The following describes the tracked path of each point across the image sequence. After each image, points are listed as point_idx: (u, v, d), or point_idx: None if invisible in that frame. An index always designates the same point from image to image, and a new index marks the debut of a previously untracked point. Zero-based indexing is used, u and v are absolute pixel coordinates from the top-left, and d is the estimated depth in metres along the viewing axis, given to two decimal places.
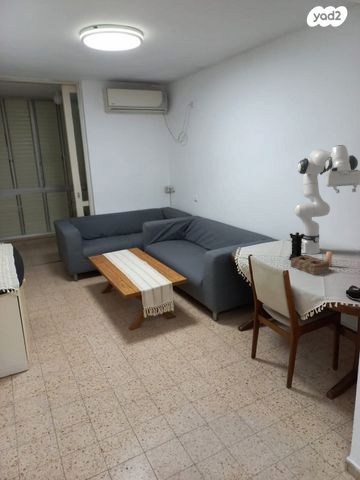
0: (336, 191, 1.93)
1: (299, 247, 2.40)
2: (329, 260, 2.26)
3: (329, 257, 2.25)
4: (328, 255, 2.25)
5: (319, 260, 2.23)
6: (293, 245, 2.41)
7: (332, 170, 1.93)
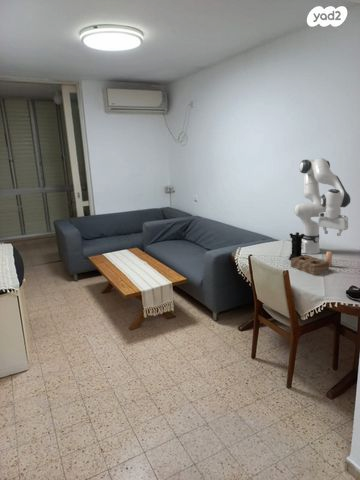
0: None
1: (299, 247, 2.40)
2: (329, 260, 2.26)
3: (329, 257, 2.25)
4: (328, 255, 2.25)
5: (319, 260, 2.23)
6: (293, 245, 2.41)
7: (320, 215, 2.22)
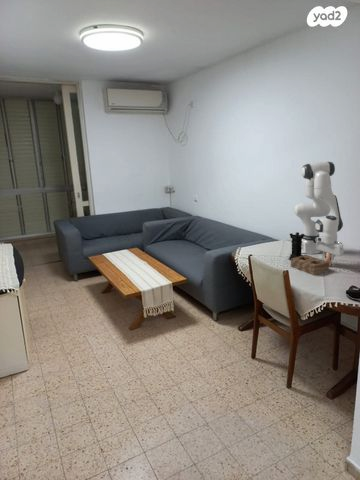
0: None
1: (299, 247, 2.40)
2: (329, 260, 2.26)
3: (329, 257, 2.25)
4: (328, 255, 2.25)
5: (319, 260, 2.23)
6: (293, 245, 2.41)
7: (318, 239, 2.29)
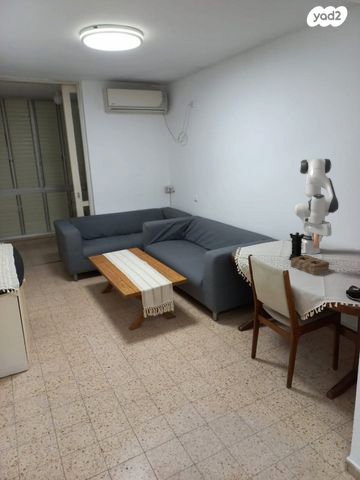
0: None
1: (299, 247, 2.40)
2: (317, 241, 2.15)
3: (317, 238, 2.14)
4: (316, 236, 2.14)
5: (319, 260, 2.23)
6: (293, 245, 2.41)
7: (305, 220, 2.18)
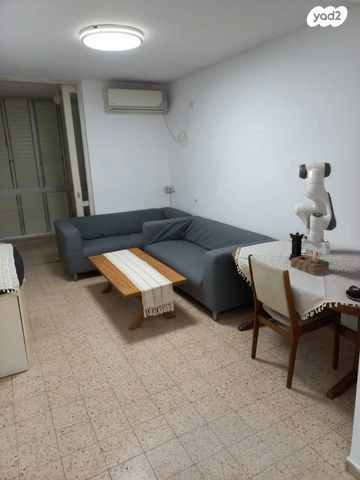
0: None
1: (299, 247, 2.40)
2: (316, 259, 2.18)
3: (316, 256, 2.18)
4: (315, 254, 2.17)
5: (319, 260, 2.23)
6: (293, 245, 2.41)
7: (304, 237, 2.21)
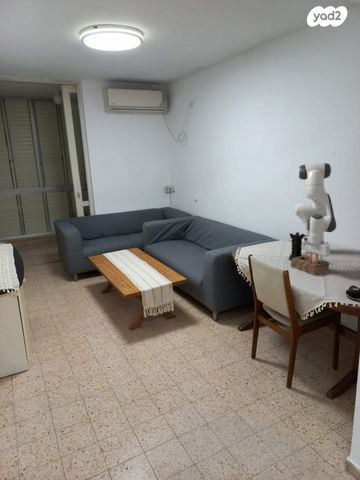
0: None
1: (299, 247, 2.40)
2: (315, 262, 2.19)
3: (315, 259, 2.18)
4: (314, 257, 2.18)
5: None
6: (293, 245, 2.41)
7: (304, 239, 2.22)
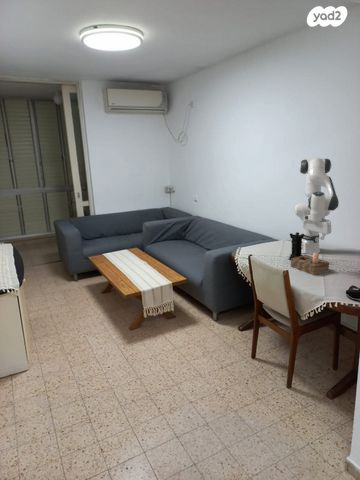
0: None
1: (299, 247, 2.40)
2: (315, 262, 2.19)
3: (315, 259, 2.18)
4: (315, 257, 2.18)
5: (319, 260, 2.23)
6: (293, 245, 2.41)
7: (305, 217, 2.18)
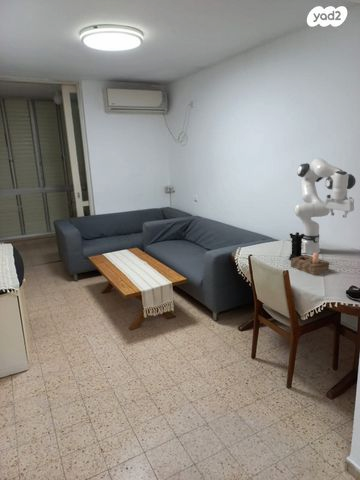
0: (331, 214, 2.27)
1: (299, 247, 2.40)
2: (316, 262, 2.19)
3: (315, 259, 2.18)
4: (315, 257, 2.18)
5: (319, 260, 2.23)
6: (293, 245, 2.41)
7: (327, 197, 2.24)
